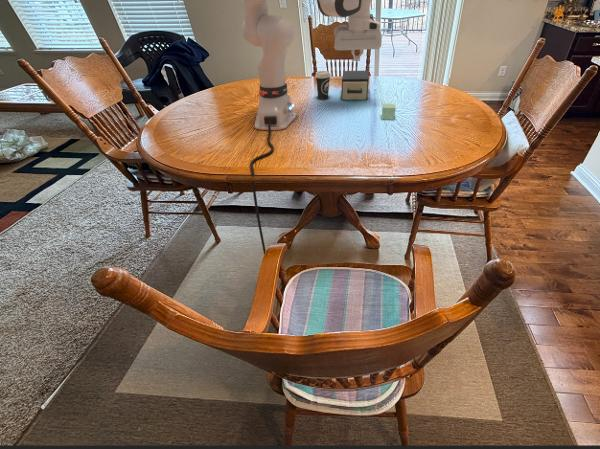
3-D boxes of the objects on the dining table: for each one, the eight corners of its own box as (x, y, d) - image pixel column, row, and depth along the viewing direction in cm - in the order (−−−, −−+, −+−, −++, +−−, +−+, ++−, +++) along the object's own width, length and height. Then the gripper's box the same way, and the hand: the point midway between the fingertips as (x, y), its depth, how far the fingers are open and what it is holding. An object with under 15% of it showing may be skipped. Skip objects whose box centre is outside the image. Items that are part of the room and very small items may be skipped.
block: (394, 119, 130) (395, 108, 127) (382, 119, 131) (383, 108, 127) (393, 115, 134) (394, 103, 130) (381, 115, 134) (382, 103, 131)
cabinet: (367, 99, 150) (368, 78, 144) (341, 99, 152) (341, 79, 146) (366, 90, 161) (368, 70, 155) (342, 90, 163) (343, 70, 157)
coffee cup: (328, 94, 159) (329, 69, 152) (331, 99, 154) (332, 73, 146) (314, 96, 159) (313, 71, 151) (316, 100, 153) (316, 75, 145)
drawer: (366, 102, 145) (367, 85, 139) (341, 102, 146) (342, 85, 141) (365, 90, 158) (367, 74, 153) (343, 90, 160) (344, 74, 155)
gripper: (333, 26, 126) (332, 63, 135) (383, 24, 123) (379, 61, 132) (334, 24, 131) (333, 59, 140) (383, 22, 127) (379, 58, 136)
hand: (356, 60), depth 136 cm, fingers closed
